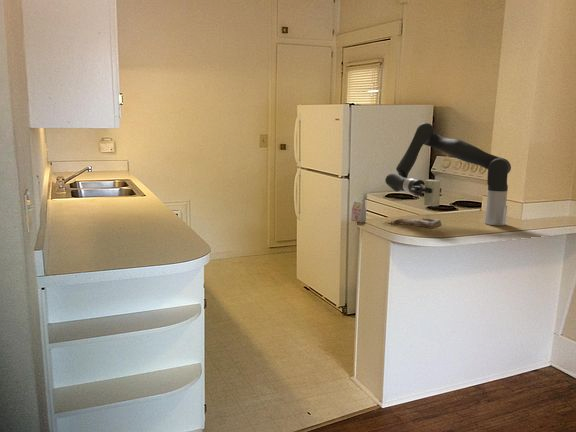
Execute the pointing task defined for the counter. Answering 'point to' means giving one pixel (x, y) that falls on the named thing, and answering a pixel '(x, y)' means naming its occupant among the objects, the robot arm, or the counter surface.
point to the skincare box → (433, 197)
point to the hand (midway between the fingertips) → (435, 190)
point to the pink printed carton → (358, 212)
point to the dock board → (420, 222)
